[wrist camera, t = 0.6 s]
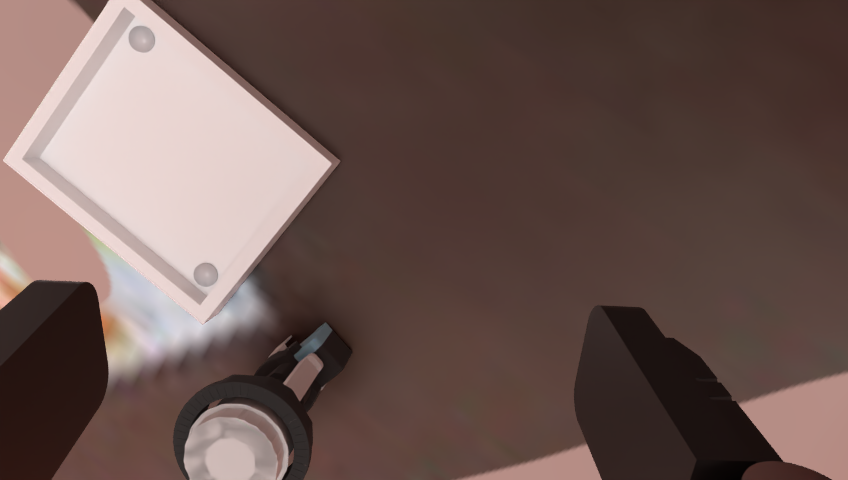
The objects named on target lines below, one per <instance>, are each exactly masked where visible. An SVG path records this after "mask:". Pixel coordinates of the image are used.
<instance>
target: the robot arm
mask: <svg viewBox="0 0 848 480" xmlns="http://www.w3.org/2000/svg"><path fill="white" fill-rule="evenodd" d="M107 383H108V361H107V354H106V347H105V341H104V334H103V328H102V321H101V314H100V308H99V301H98V296H97V292H96V290H95V288H94V286H93V285H92V284H90V283H88V282H72V281H47V280H37V281H34V282H32V283H31V284H30V285H28V286H27V287H26V288H25V289H24V290H23V291H22V292H21V293H19V294H18V295H17V296H16V297H15V298H14V299H13V300H11V301H10V302H9V303H8V304H7V305H6V306H5V307H3V308H2V309H1V310H0V480H51V479H52V478H53V476H54V474H55V473H56V471H57V470H58V468H59V467H60V465H61V464H62V462H63V461H64V459H65V458H66V456H67V455H68V453H69V452H70V450H71V449H72V447H73V446H74V444H75V443H76V441H77V440H78V438H79V437H80V435H81V434H82V432H83V431H84V429H85V428H86V426H87V425H88V423H89V422H90V420H91V419H92V417H93V416H94V414H95V413H96V411H97V410H98V408H99V406H100V405H101V403H102V401H103V398H104V395H105V392H106V388H107ZM731 397H732V396H731V395H730V394H729V392H728V391H727V390H726V389H725V387H724V386H723V385H722V384H721V383H718V382H717V377H716V376H715V375H714V374H713V372H712V371H711V370H710V368H709V367H708V366H707V365H706V363H705V362H704V361H703V360H702V358H701V357H700V356H698V355H697V354H695V353H694V352H693V351H691V350H690V349H688V348H687V347H685V346H684V345H683V344H681V343H680V342H678V341H677V340H675V339H674V338H665V337H664V335H663V334H662V333H661V331H660V330H659V328H658V327H657V326H656V324H655V323H654V322H653V320H652V319H651V318H650V316H649V315H648V314H647V312H646V311H645V310H644V309H643V308H640V307H621V306H595V307H594V308H593V309H592V311H591V313H590V316H589V320H588V324H587V329H586V334H585V338H584V343H583V348H582V353H581V357H580V362H579V367H578V372H577V376H576V381H575V388H574V404H575V412H576V416H577V420H578V423H579V425H580V428H581V430H582V432H583V435H584V437H585V440H586V442H587V445H588V447H589V449H590V452H591V454H592V457H593V459H594V461H595V464H596V466H597V468H598V471H599V473H600V476H601V478H602V480H832V479H830V478H828V477H826V476H824V475H822V474H820V473H818V472H816V471H814V470H811V469H808V468H805V467H803V466H799V465H796V464H792V463H786V462H783V460H782V459H781V458H780V457H779V455H778V454H777V453H776V452H775V450H774V449H773V448H772V447H771V445H770V444H769V443H768V442H767V440H766V439H765V438H764V437H763V435H762V434H761V433H760V431H759V430H758V429H757V428H756V426H755V425H754V424H753V423H752V421H751V420H750V419H749V418H748V416H747V415H746V414H745V413H744V411H743V410H742V409H741V408H740V406H739V405H738V404H737V402H736V401H732V399H731Z"/></svg>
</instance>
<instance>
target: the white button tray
mask: <svg viewBox="0 0 848 480" xmlns="http://www.w3.org/2000/svg"><path fill="white" fill-rule="evenodd" d="M3 161H4V162H5V163H6V164H8V165H9V166H10V167H11V168H12V169H14V170H15V171H16V172H18V173H19V174H20V175H21V176H22V177H23V178H25V179H26V180H27V181H28V182H30V183H31V184H32V185H33V186H34V187H36V188H37V189H38V190H39V191H41V192H42V193H43V194H44V195H45V196H47V197H48V198H49V199H50V200H51V201H53V202H54V203H55V204H56V205H58V206H59V207H60V208H61V209H62V210H64V211H65V212H66V213H67V214H69V215H70V216H71V217H72V218H74V219H75V220H76V221H77V222H78V223H80V224H81V225H82V226H83V227H84V228H86V229H87V230H88V231H89V232H90V233H92V234H93V235H94V236H95V237H97V238H98V239H99V240H100V241H101V242H103V243H104V244H105V245H106V246H108V247H109V248H110V249H111V250H112V251H114V252H115V253H116V254H117V255H119V256H120V257H121V258H122V259H123V260H125V261H126V262H127V263H128V264H129V265H131V266H132V267H133V268H134V269H136V270H137V271H138V272H139V273H140V274H142V275H143V276H144V277H145V278H147V279H148V280H149V281H150V282H151V283H153V284H154V285H155V286H156V287H158V288H159V289H160V290H161V291H162V292H164V293H165V294H166V295H167V296H168V297H170V298H171V299H172V300H173V301H175V302H176V303H177V304H178V305H179V306H181V307H182V308H183V309H184V310H186V311H187V312H188V313H189V314H190V315H192V316H193V317H194V318H195V319H197V320H198V321H199V322H200V323H201V324H205V323H206V322H207V321H209V320H210V319H211V318H213V317H214V316H216V315H217V314H218V313H219V312H220V311H221V309H222V308H223V307H224V306H225V304H226V303H227V302H228V301H229V299H230V298H231V297H232V296H233V294H234V293H235V292H236V291H237V289H238V288H239V287H240V286H241V285H242V283H243V282H244V281H245V280H246V278H247V277H248V276H249V275H250V273H251V272H252V271H253V270H254V268H255V267H256V266H257V265H258V263H259V262H260V261H261V260H262V258H263V257H264V256H265V255H266V253H267V252H268V251H269V250H270V249H271V247H272V246H273V245H274V244H275V242H276V241H277V240H278V239H279V237H280V236H281V235H282V234H283V232H284V231H285V230H286V229H287V227H288V226H289V225H290V224H291V222H292V221H293V220H294V219H295V217H296V216H297V215H298V214H299V213H300V211H301V210H302V209H303V208H304V206H305V205H306V204H307V203H308V201H309V200H310V199H311V198H312V196H313V195H314V194H315V193H316V191H317V190H318V189H319V188H320V186H321V185H322V184H323V183H324V181H325V180H326V179H327V178H328V177H329V175H330V174H331V173H332V172H333V170H334V169H335V168H336V167H337V165H338V164H339V163H340V162H341V161H340V160H339V159H337V158H336V157H335V156H334V155H333V154H331V153H330V152H329V151H328V150H327V149H326V148H324V147H323V146H322V145H321V144H320V143H319V142H317V141H316V140H315V139H314V138H313V137H312V136H310V135H309V134H308V133H307V132H306V131H304V130H303V129H302V128H301V127H300V126H299V125H297V124H296V123H295V122H294V121H293V120H292V119H290V118H289V117H288V116H287V115H286V114H284V113H283V112H282V111H281V110H280V109H279V108H277V107H276V106H275V105H274V104H273V103H272V102H270V101H269V100H268V99H267V98H266V97H264V96H263V95H262V94H261V93H260V92H259V91H257V90H256V89H255V88H254V87H253V86H252V85H250V84H249V83H248V82H247V81H246V80H245V79H243V78H242V77H241V76H240V75H239V74H237V73H236V72H235V71H234V70H233V69H232V68H230V67H229V66H228V65H227V64H226V63H225V62H223V61H222V60H221V59H220V58H219V57H217V56H216V55H215V54H214V53H213V52H212V51H210V50H209V49H208V48H207V47H206V46H205V45H203V44H202V43H201V42H200V41H199V40H198V39H196V38H195V37H194V36H193V35H192V34H190V33H189V32H188V31H187V30H186V29H185V28H183V27H182V26H181V25H180V24H179V23H178V22H176V21H175V20H174V19H173V18H172V17H170V16H169V15H168V14H167V13H166V12H165V11H163V10H162V9H161V8H160V7H159V6H158V5H156V4H155V3H154V2H153V1H152V0H109V2H108V3H107V5H106V6H105V8H104V9H103V11H102V12H101V14H100V15H99V17H98V18H97V20H96V21H95V23H94V24H93V26H92V27H91V29H90V30H89V32H88V34H87V35H86V36H85V38H84V39H83V41H82V42H81V44H80V45H79V47H78V48H77V50H76V51H75V53H74V54H73V56H72V57H71V59H70V60H69V62H68V63H67V65H66V66H65V68H64V70H63V71H62V72H61V74H60V76H59V77H58V79H57V80H56V82H55V83H54V85H53V86H52V88H51V89H50V90H49V92H48V93H47V95H46V97H45V98H44V100H43V101H42V103H41V104H40V106H39V107H38V109H37V110H36V112H35V113H34V114H33V116H32V118H31V119H30V121H29V122H28V124H27V125H26V127H25V128H24V130H23V131H22V133H21V134H20V136H19V137H18V139H17V140H16V142H15V143H14V145H13V146H12V148H11V149H10V151H9V152H8V154H7V155H6V157H5V158H4V160H3Z"/></svg>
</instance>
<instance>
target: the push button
mask: <svg viewBox="0 0 848 480" xmlns="http://www.w3.org/2000/svg"><path fill="white" fill-rule="evenodd" d="M291 337H292V335H291V336H290V337H288V338H287V339H286V340H285V341H284V342H282V343H281V344H280V345H279V346H278V347H277V348H276V349H275V350H274V351H273V352H272V353H271V354H270V356H269V358H268V359H267V360H266V361H265V362H264V363H263V364H262V365H261V366H260V367H259V369H258V370H257V371H256V373H255V375H254V376H249V375H231V376H229V377H227V378H225V379H223V380H221V381H218V382H215V383H212V384H210V385H208V386H206V387H204V388H203V389H202V390H200V391H199V392H198V393H196V394H195V395H194V396H193V397H192V398H191V399H190V400H189V401H188V402H187V403H186V404H185V406H184V407H183V409H182V410H181V412H180V414H179V416H178V418H177V421H176V424H175V428H174V435H173V444H174V451H175V456H176V459H177V462H178V465H179V467H180V469H181V471H182V473H183V475H184V476H185V478H186V479H187V480H303V479H304V477H305V475H306V473H307V470H308V467H309V464H310V460H311V453H312V444H313V432H312V421H311V419H310V418H309V416H308V414H307V413H306V412H308V411H309V410H310V408H311V407H312V406H313V404H314V402H315V401H316V399H317V397H318V395H319V393H320V391H321V390H322V389H323V388H324V386H325V385H326V384H327V383H328V382H329V381H330V380H331V379H333V378H334V377H335V376H336V375H338V374H339V373H340V372H341V371H342V370H343V368H344V367H345V365H346V363H347V361H348V359H349V358H350V356H351V354H352V351H351V350H350V349H349V348H348V347H347V346H346V345H345V343H344V342H343V341H342V340H341V339H340V338H339V337H338V336H337V334H336V333H335V332H334V331H333V330H332V329H331V328H330V327H329V325H328V324H327V323H326V322H325V323H324V324H322V325H321V326H320V327H319V328H318V329H317V330H316V331H315V332H314V333H313V334H311V335H310V336H309V337H308V338H307V339H305V340H304V341H303V342H302V343H301V344H299V343H298V342H297V341H295V342H294V343H292V344H291V345H290V346H289V347H288V348H287V346H286V345H285V344H286V343H287V342H288V341H289V340H290V338H291ZM222 398H223V399H222ZM219 399H222V400H221V401H220V402H219V404H218V405H217V406H216V407H214V408H211V409H209V410H207V409H208V406H209V404H210V403H212V402H214V401H216V400H219ZM293 448H294V460H293V463H292V464H291V465H290V466H289V467H288V457H289V455H290V453H291V452H292V450H293Z"/></svg>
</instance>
